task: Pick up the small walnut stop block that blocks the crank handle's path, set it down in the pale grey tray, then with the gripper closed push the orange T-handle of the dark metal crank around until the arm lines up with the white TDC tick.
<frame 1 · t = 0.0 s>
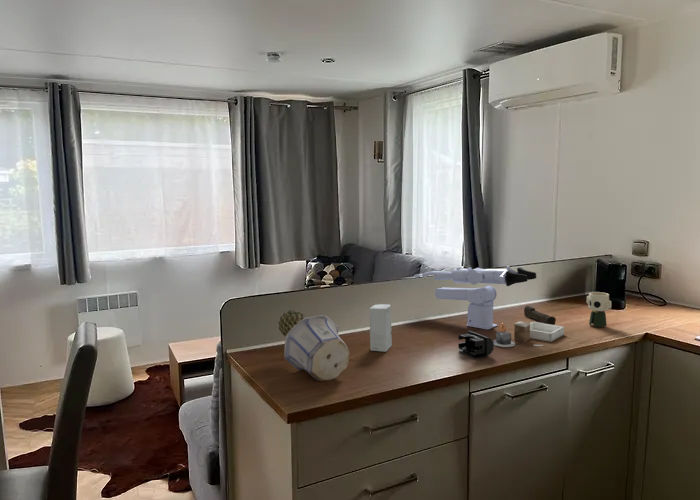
hand: (531, 277, 195), 22 cm above the worktop, tool horizontal, fingers open, 7 cm apart
potted plant: (309, 368, 165), on the worktop
skincare box: (380, 348, 184), on the worktop
hand tool: (536, 321, 219), on the worktop
crank base: (503, 344, 187), on the worktop
stop block: (521, 339, 192), on the worktop
character mug: (597, 326, 208), on the worktop
tray: (541, 335, 197), on the worktop
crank: (503, 332, 190), point 3 cm above the worktop, hinge at 90.0°
end cap: (475, 354, 176), on the worktop
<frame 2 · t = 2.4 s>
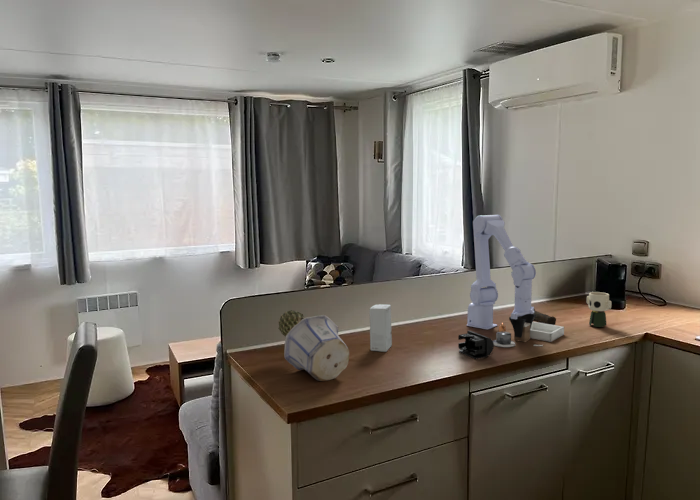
hand: (522, 335, 191), 2 cm above the worktop, tool pointing down, fingers open, 6 cm apart
nothing on the worktop moved.
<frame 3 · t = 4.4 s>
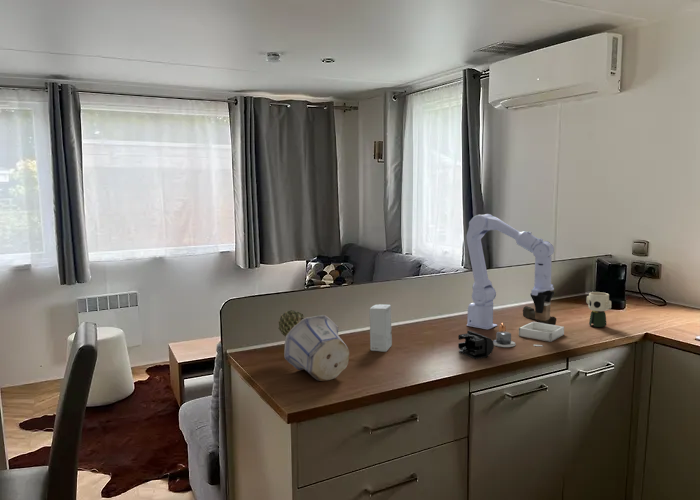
hand: (541, 311, 196), 9 cm above the worktop, tool pointing down, fingers closed on stop block, 4 cm apart
stop block: (542, 318, 196), point 6 cm above the worktop, touching gripper
everything else where it was.
when the fingers open (4 cm above the worktop, at t = 5.8 s): stop block stays where it is, resting on tray.
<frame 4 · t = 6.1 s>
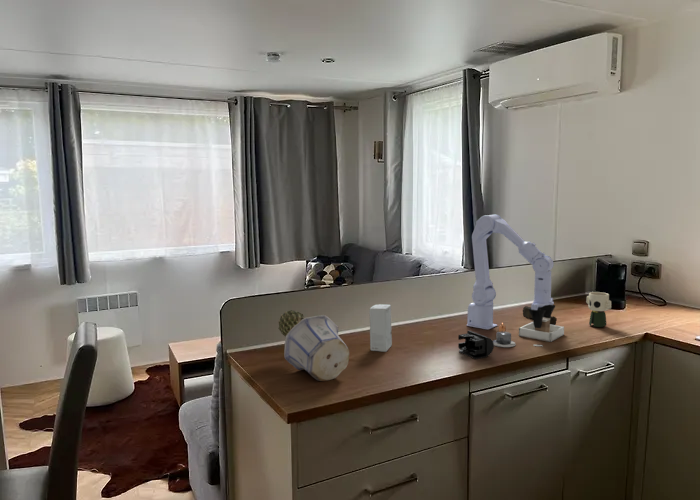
hand: (541, 325, 196), 4 cm above the worktop, tool pointing down, fingers open, 6 cm apart
stop block: (542, 334, 197), resting on tray
everything else where it was.
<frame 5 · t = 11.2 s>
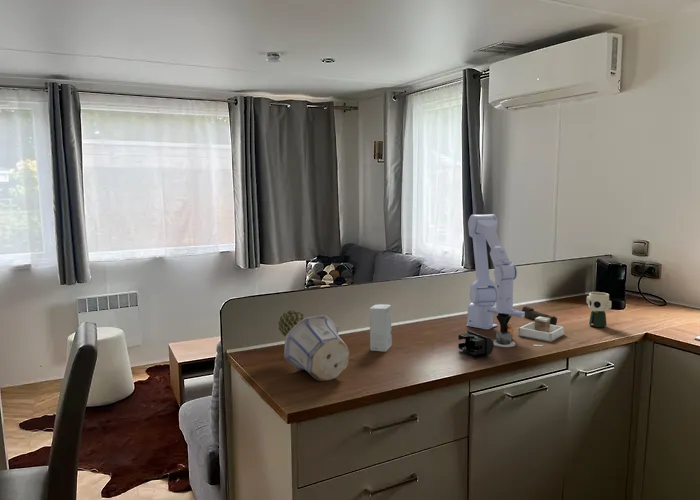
hand: (503, 334, 194), 1 cm above the worktop, tool pointing down, fingers closed, pressing on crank
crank: (506, 333, 189), point 3 cm above the worktop, hinge at 71.4°, touching gripper
everything else where it was.
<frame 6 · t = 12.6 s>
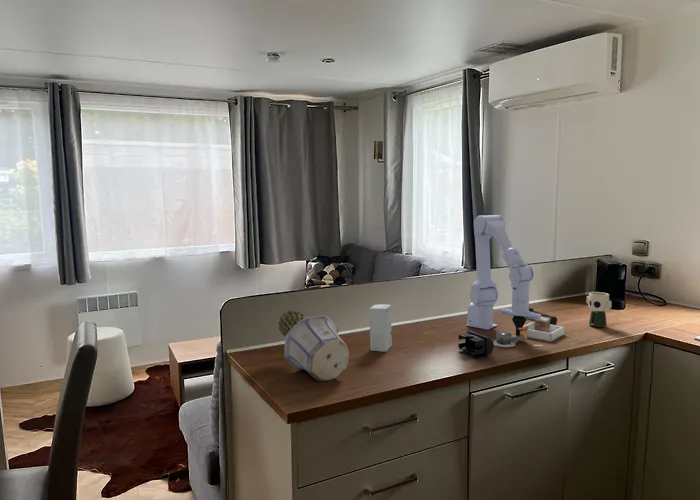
hand: (519, 336, 191), 1 cm above the worktop, tool pointing down, fingers closed, pressing on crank
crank: (512, 334, 187), point 3 cm above the worktop, hinge at 29.9°, touching gripper
everything else where it was.
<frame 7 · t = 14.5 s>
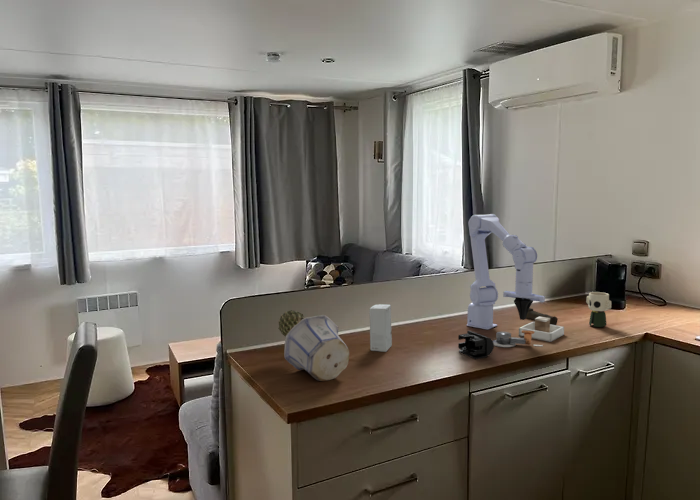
hand: (522, 319, 190), 8 cm above the worktop, tool pointing down, fingers closed
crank: (513, 336, 185), point 3 cm above the worktop, hinge at -5.4°
everything else where it was.
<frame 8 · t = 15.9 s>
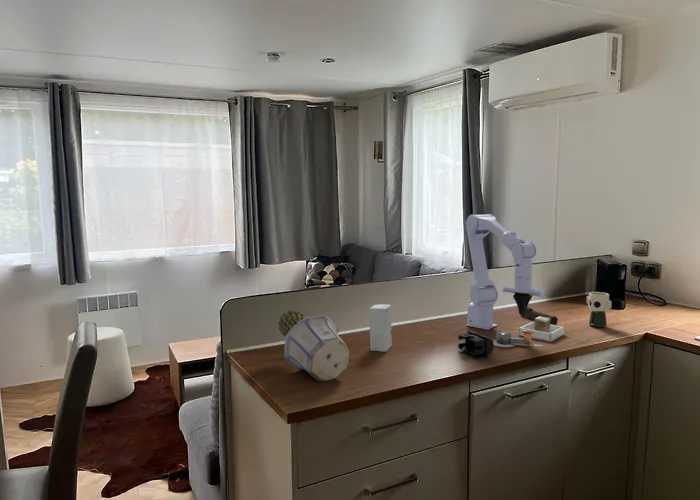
hand: (522, 314, 190), 9 cm above the worktop, tool pointing down, fingers closed
nothing on the worktop moved.
at the end: stop block inside the target area on the tray (0.3 cm from its centre), point 0.4 cm above the tray's base; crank at -5° (first picture: +90°) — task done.
